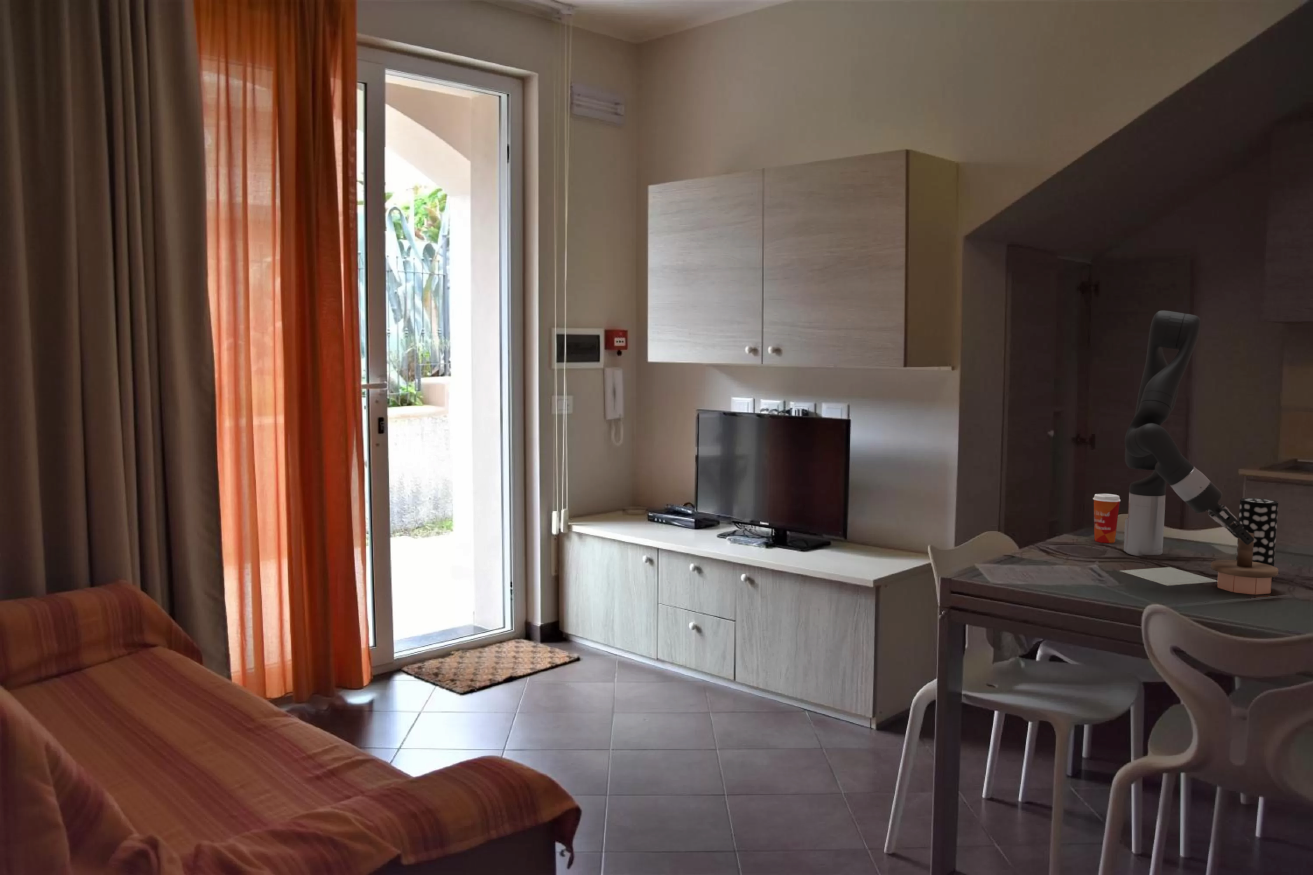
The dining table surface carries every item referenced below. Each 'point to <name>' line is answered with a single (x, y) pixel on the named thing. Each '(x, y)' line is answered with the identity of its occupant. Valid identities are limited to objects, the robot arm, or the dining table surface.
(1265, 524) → the spotted tube
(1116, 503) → the paper cup
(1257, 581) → the terracotta bowl
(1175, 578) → the rubber mat
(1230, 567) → the walnut lid
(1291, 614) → the dining table surface
